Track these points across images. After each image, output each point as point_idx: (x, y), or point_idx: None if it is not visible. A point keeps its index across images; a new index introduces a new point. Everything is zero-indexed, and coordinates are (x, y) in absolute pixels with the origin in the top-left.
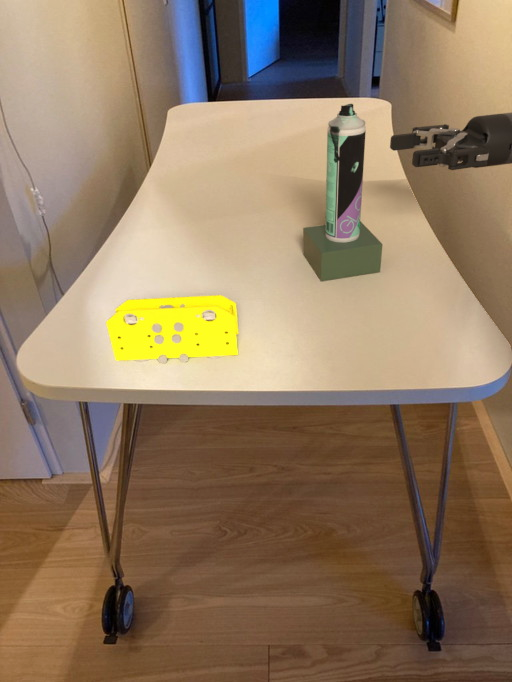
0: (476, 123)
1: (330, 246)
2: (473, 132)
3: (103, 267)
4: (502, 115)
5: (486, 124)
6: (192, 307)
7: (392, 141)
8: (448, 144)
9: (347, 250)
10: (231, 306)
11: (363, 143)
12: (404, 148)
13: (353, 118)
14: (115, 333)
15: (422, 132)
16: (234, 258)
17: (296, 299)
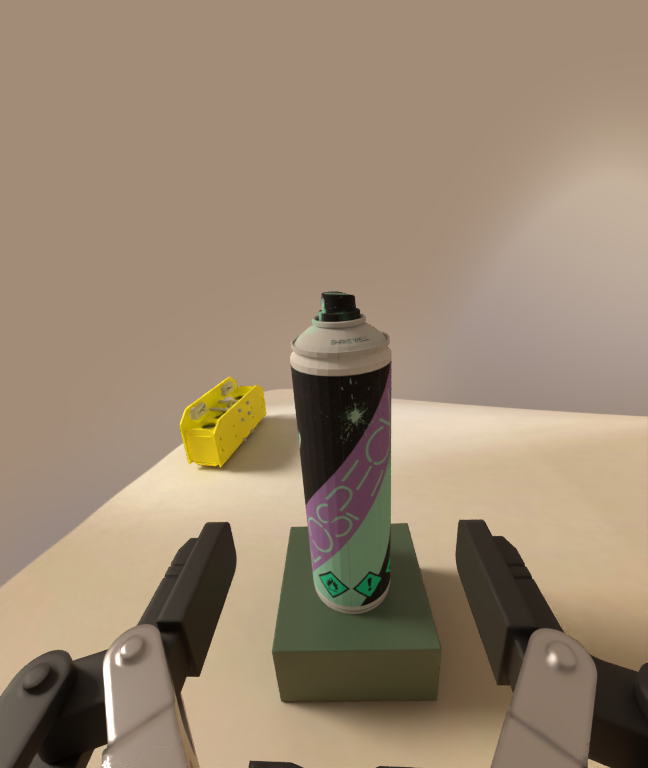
0: None
1: (309, 544)
2: None
3: (404, 404)
4: None
5: None
6: (198, 399)
7: (459, 532)
8: (159, 709)
9: (284, 570)
10: (204, 429)
11: (305, 401)
12: (477, 621)
13: (314, 328)
14: (235, 392)
15: (538, 685)
16: (407, 483)
17: (263, 528)
